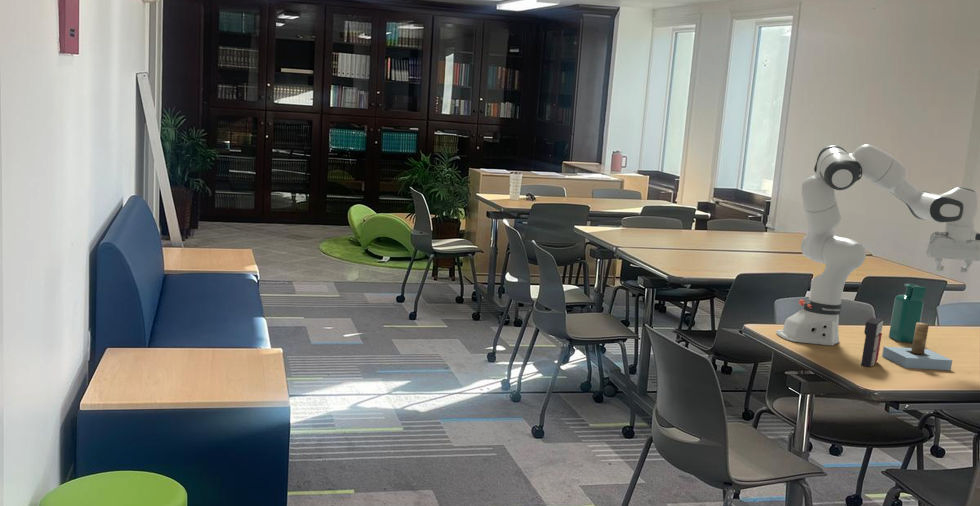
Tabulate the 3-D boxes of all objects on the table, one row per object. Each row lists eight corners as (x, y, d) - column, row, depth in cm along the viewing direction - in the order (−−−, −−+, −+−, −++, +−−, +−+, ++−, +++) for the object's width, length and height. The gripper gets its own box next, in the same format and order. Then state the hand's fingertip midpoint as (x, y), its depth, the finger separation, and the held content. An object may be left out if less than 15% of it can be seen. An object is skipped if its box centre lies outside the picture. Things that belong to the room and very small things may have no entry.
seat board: (904, 367, 312) (906, 357, 311) (882, 356, 326) (883, 346, 325) (950, 370, 314) (952, 360, 314) (926, 358, 328) (927, 349, 328)
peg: (913, 364, 318) (920, 325, 315) (906, 360, 322) (913, 322, 320) (925, 365, 318) (932, 325, 316) (917, 361, 322) (924, 322, 320)
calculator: (872, 368, 307) (879, 324, 305) (858, 365, 310) (865, 321, 307) (878, 361, 317) (885, 319, 314) (864, 359, 319) (871, 317, 316)
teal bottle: (886, 336, 359) (895, 281, 355) (907, 337, 360) (916, 282, 356) (900, 342, 349) (909, 286, 346) (921, 344, 350) (930, 287, 347)
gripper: (936, 232, 322) (930, 271, 324) (990, 236, 325) (983, 275, 328) (926, 229, 328) (919, 267, 331) (978, 233, 331) (971, 271, 334)
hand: (951, 271), depth 329 cm, fingers open, 8 cm apart
